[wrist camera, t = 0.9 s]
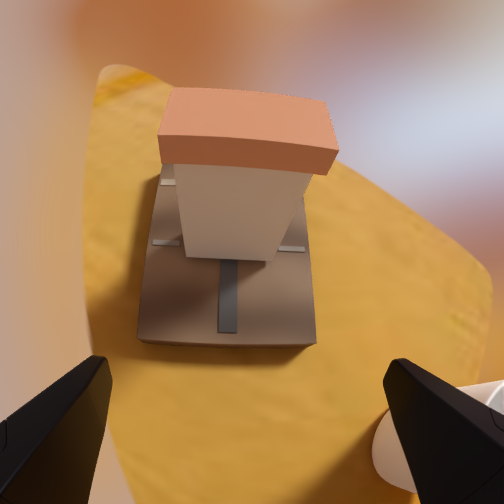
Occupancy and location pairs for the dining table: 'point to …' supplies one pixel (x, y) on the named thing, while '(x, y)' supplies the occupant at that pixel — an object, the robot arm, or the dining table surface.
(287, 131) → the fader tab
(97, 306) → the dining table surface
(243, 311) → the fader console
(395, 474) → the mug
